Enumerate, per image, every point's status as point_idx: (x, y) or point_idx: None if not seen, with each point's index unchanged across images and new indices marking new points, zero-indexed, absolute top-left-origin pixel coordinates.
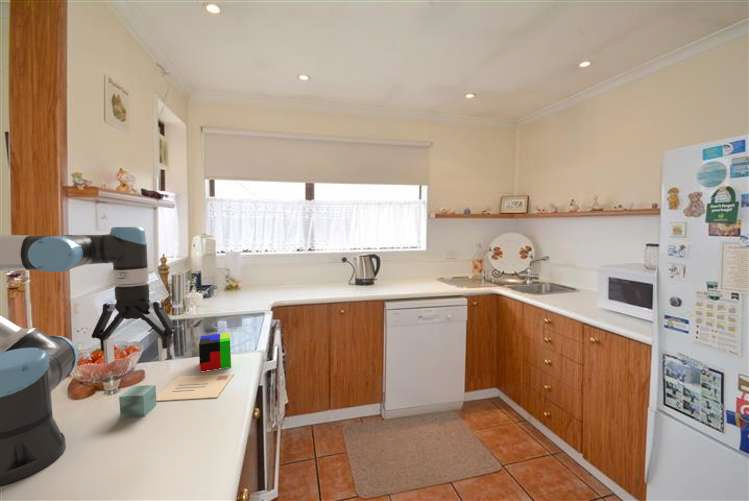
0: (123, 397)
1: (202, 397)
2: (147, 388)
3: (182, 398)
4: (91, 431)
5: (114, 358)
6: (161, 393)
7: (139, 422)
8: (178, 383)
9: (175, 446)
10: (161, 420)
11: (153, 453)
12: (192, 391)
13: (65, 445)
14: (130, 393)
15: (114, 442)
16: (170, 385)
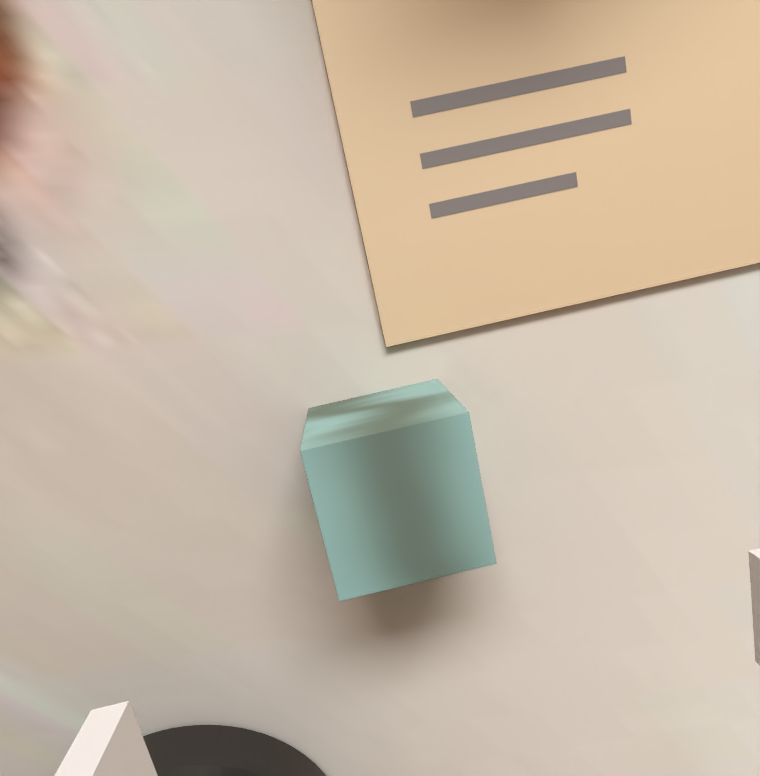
0: (367, 591)
1: (684, 275)
2: (449, 471)
3: (562, 300)
4: (295, 641)
5: (120, 728)
6: (372, 248)
7: None
8: (389, 75)
9: (756, 670)
10: (576, 517)
11: (693, 716)
12: (574, 199)
13: (302, 762)
14: (382, 553)
15: (480, 688)
16: (348, 115)
